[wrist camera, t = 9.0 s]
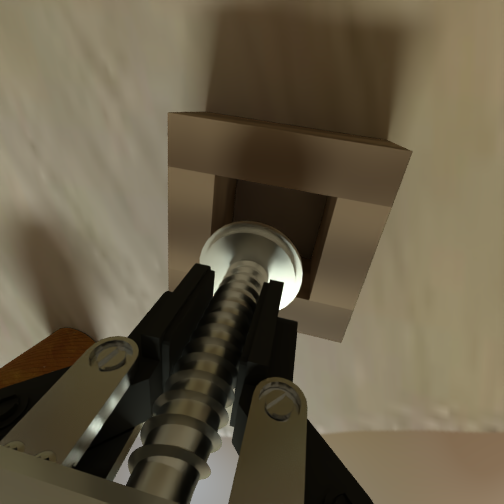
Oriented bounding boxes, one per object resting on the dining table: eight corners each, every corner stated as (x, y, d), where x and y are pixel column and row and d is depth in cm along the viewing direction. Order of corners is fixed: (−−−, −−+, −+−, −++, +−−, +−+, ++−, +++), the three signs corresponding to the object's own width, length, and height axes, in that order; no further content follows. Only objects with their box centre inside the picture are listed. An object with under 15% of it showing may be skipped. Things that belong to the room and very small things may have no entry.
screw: (266, 189, 14) (322, 265, 15) (195, 240, 16) (250, 304, 17) (1, 612, 2) (341, 803, 3) (-136, 601, 4) (106, 722, 5)
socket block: (204, 111, 20) (167, 112, 15) (387, 140, 18) (412, 151, 13) (197, 264, 25) (168, 300, 20) (336, 295, 24) (341, 342, 19)
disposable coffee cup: (125, 345, 32) (29, 462, 21) (104, 389, 36) (16, 504, 26) (47, 301, 31) (-91, 399, 21) (36, 351, 36) (-82, 453, 25)
